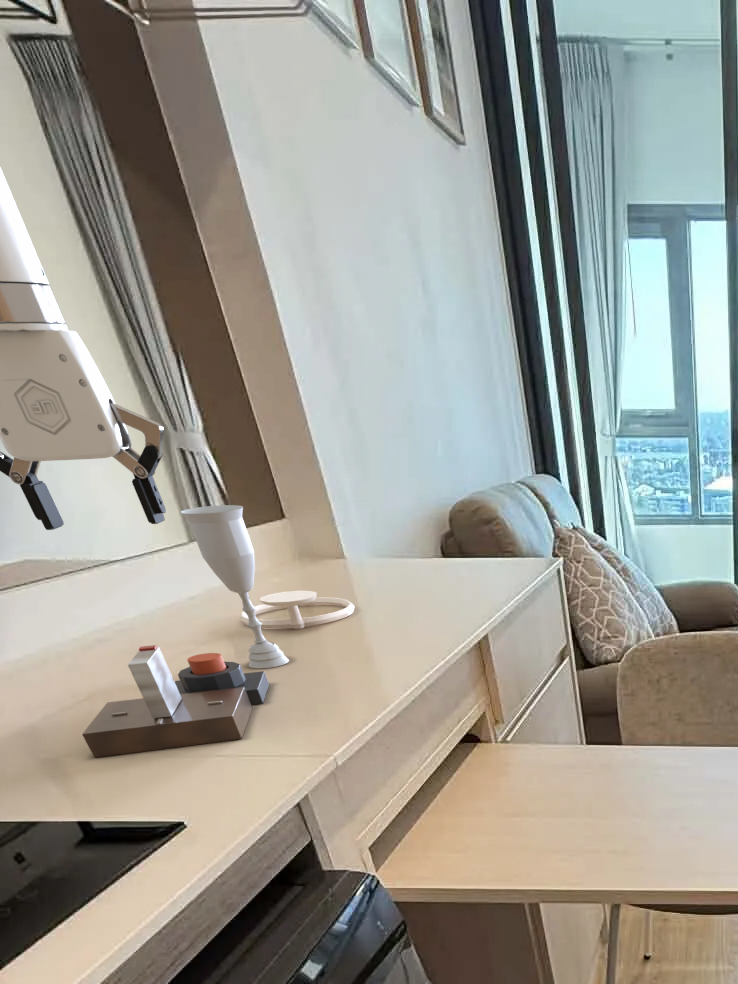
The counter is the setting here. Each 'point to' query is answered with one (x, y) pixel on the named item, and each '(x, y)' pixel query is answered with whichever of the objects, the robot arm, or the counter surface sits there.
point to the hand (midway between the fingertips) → (107, 525)
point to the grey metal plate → (155, 681)
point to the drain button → (206, 663)
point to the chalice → (233, 567)
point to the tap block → (169, 723)
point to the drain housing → (225, 682)
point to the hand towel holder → (292, 602)
